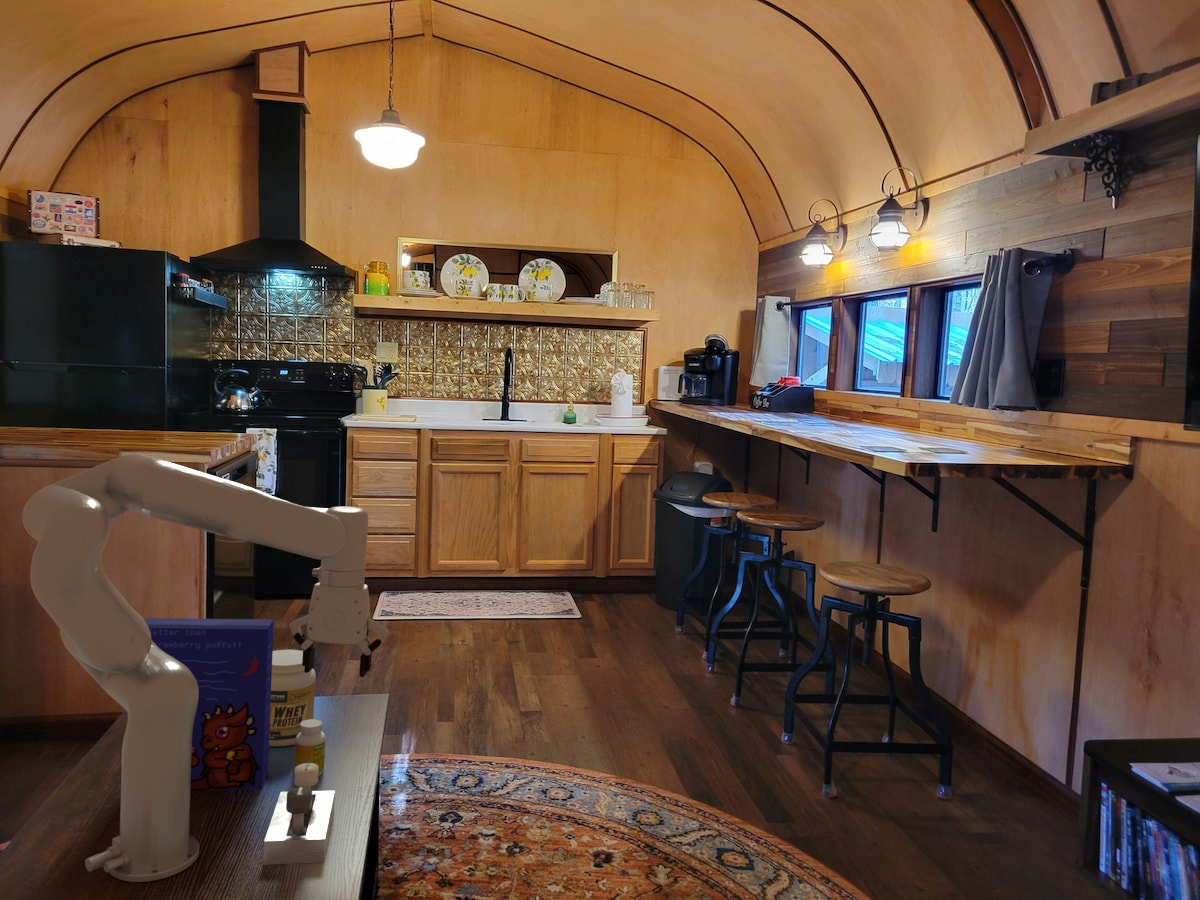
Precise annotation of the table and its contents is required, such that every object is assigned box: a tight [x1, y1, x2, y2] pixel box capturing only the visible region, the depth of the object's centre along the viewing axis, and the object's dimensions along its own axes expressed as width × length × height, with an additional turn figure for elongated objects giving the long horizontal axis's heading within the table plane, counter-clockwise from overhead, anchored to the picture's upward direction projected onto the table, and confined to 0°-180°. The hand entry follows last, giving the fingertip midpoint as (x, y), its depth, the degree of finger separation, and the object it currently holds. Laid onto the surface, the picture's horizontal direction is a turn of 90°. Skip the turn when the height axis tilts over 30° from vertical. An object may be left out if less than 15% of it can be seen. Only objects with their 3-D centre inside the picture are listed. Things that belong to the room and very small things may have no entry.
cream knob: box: [293, 763, 319, 791], centre depth 147 cm, size 4×4×6 cm
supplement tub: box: [269, 649, 317, 748], centre depth 180 cm, size 12×12×17 cm
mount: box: [262, 790, 336, 866], centre depth 143 cm, size 16×9×4 cm, turn 11°
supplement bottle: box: [293, 718, 326, 777], centre depth 165 cm, size 5×5×10 cm
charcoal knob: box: [286, 786, 313, 836], centre depth 139 cm, size 4×4×6 cm
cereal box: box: [144, 617, 275, 792], centre depth 158 cm, size 22×6×30 cm, turn 101°
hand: (336, 672), depth 154 cm, fingers open, 9 cm apart
